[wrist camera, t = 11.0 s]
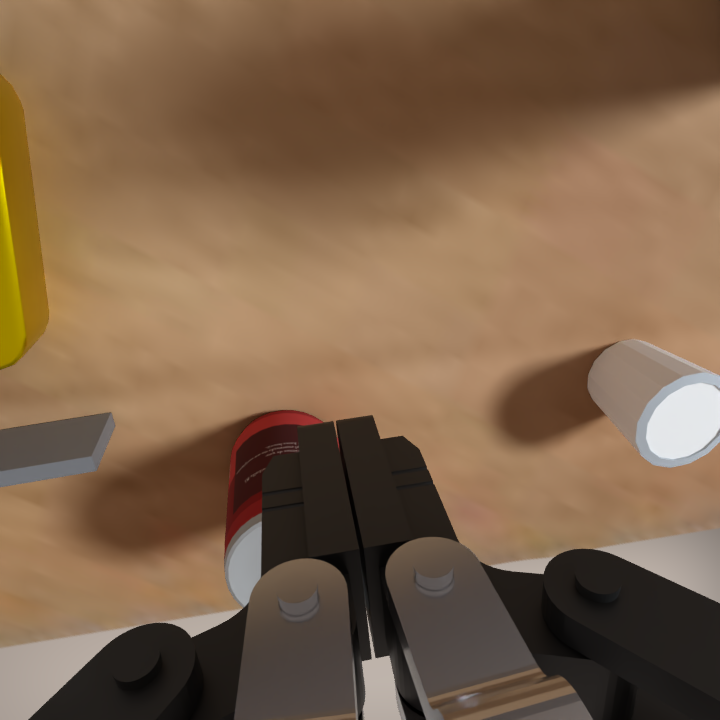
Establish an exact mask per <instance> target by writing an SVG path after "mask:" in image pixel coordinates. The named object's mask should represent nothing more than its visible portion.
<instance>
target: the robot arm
mask: <svg viewBox="0 0 720 720" xmlns="http://www.w3.org/2000/svg"><path fill="white" fill-rule="evenodd" d="M336 426H337V435H338V442H337V437H336V432H335V427H334V422H333V421H331V422H324V423H318V424H311V425H304V426H298V427H297V433H298V444H299V452H296V453H289V454H283V455H277V456H273V457H272V459H271V461H270V462H269V464H268V465H267V467H266V469H265V470H264V472H263V474H262V536H261V578H260V580H259V581H258V582H257V583H256V585H255V586H254V588H253V590H252V592H251V595H250V599H249V603H248V604H247V605H246V606H245V607H244V608H243V609H242V610H241V611H240V612H239V613H237V614H236V615H235V616H233V617H232V618H230V619H229V620H227V621H225V622H223V623H222V624H220V625H218V626H216V627H213V628H211V629H209V630H207V631H205V632H203V633H201V634H199V635H196V636H194V637H192V638H191V637H190V635H189V634H188V633H187V632H186V631H185V630H183V629H182V628H180V627H178V626H175V625H173V624H168V623H152V624H146V625H142V626H139V627H136V628H134V629H131V630H129V631H127V632H125V633H123V634H121V635H120V636H118V637H117V638H115V639H114V640H112V641H111V642H110V643H109V644H107V645H106V646H105V647H104V648H103V649H102V650H101V651H100V652H99V653H98V654H96V655H95V657H93V658H92V659H91V660H90V661H89V662H88V663H87V664H86V665H85V666H84V667H83V668H82V669H81V670H80V671H79V672H78V673H77V674H76V675H75V676H73V677H72V679H70V680H69V681H68V682H67V683H66V684H65V685H64V686H63V687H62V688H61V689H60V690H59V691H58V692H57V693H56V694H55V695H54V696H53V697H52V698H50V699H49V701H47V702H46V703H45V704H44V705H43V706H42V707H41V708H40V709H39V710H38V711H37V712H36V713H35V714H34V715H33V716H32V717H31V718H30V719H29V720H364V712H363V705H364V702H365V685H364V677H363V669H362V661H364V660H370V659H371V649H370V641H369V632H368V623H367V615H368V621H369V626H370V631H371V636H372V641H373V647H374V652H375V657H376V658H379V657H384V656H389V655H390V660H391V664H392V669H393V674H394V678H395V688H396V700H397V705H398V709H399V712H400V716H401V719H402V720H720V603H718V602H716V601H714V600H711V599H709V598H707V597H705V596H703V595H700V594H698V593H696V592H694V591H692V590H690V589H687V588H685V587H683V586H681V585H679V584H677V583H674V582H672V581H670V580H668V579H666V578H663V577H661V576H659V575H657V574H655V573H653V572H650V571H648V570H646V569H644V568H642V567H640V566H637V565H635V564H633V563H631V562H629V561H626V560H624V559H622V558H620V557H618V556H615V555H613V554H610V553H607V552H603V551H599V550H593V549H574V550H570V551H566V552H563V553H561V554H559V555H557V556H556V557H554V558H553V559H552V560H551V561H550V562H549V563H548V565H547V566H546V568H545V571H544V574H534V573H523V572H512V571H505V570H501V569H497V568H493V567H491V566H488V565H485V564H484V563H482V562H480V561H479V560H478V558H477V557H476V555H475V554H474V553H473V552H472V551H471V550H470V549H468V548H467V547H466V546H464V545H462V544H460V543H459V541H458V539H457V537H456V534H455V532H454V530H453V527H452V525H451V523H450V520H449V518H448V515H447V513H446V511H445V508H444V506H443V504H442V501H441V499H440V497H439V494H438V492H437V490H436V487H435V485H433V480H432V478H431V476H430V473H429V471H428V470H427V466H426V464H425V461H424V459H423V457H422V454H421V452H420V450H419V448H417V447H416V446H415V445H413V444H412V443H411V442H410V441H408V440H407V439H406V438H405V437H403V436H398V437H392V438H385V439H380V436H379V433H378V430H377V427H376V424H375V421H374V418H373V416H372V415H370V416H363V417H356V418H350V419H343V420H337V421H336ZM338 443H339V447H338ZM339 451H340V452H339ZM366 610H367V614H366Z"/></svg>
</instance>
